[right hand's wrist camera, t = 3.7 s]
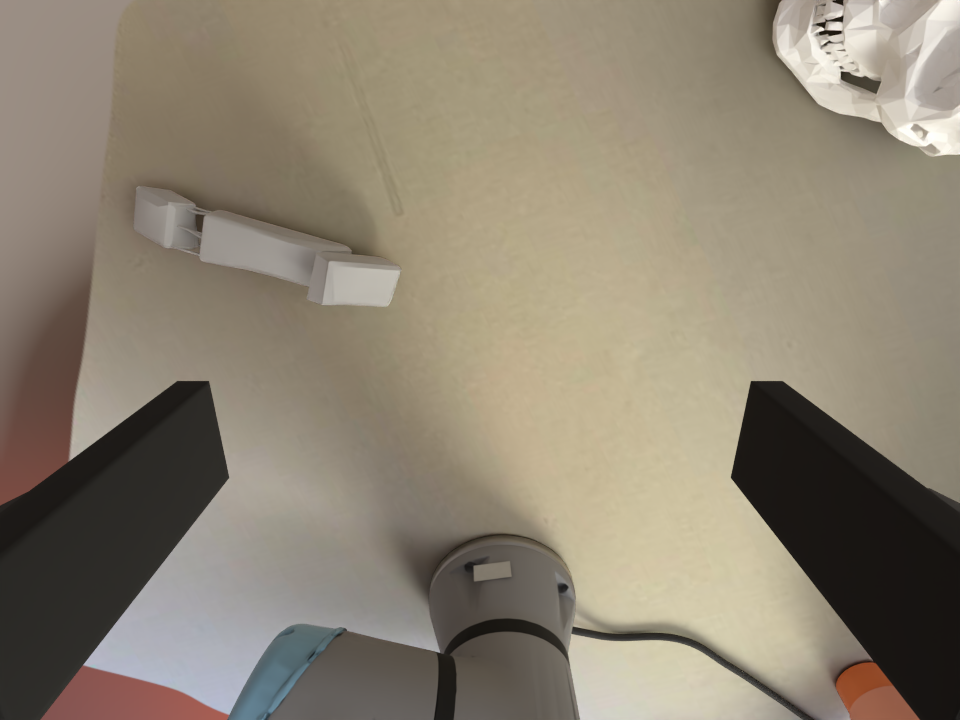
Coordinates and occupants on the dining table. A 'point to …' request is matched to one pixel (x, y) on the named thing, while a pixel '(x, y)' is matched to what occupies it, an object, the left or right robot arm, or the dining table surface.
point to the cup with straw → (871, 695)
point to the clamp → (266, 250)
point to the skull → (880, 63)
